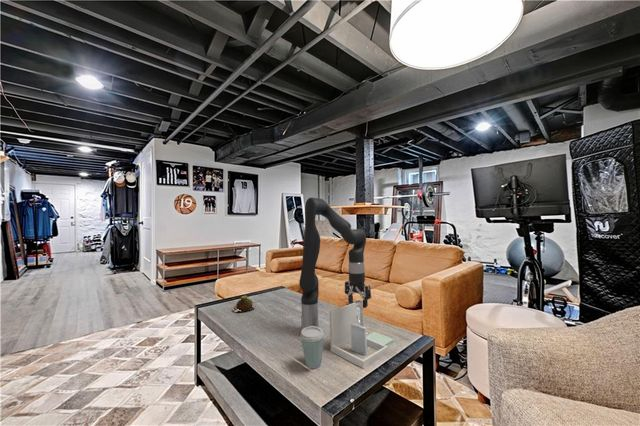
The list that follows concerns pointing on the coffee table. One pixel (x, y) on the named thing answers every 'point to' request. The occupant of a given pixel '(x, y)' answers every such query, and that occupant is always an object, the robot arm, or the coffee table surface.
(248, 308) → the cactus
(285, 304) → the coffee table surface
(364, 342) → the hard drive
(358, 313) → the disk drive
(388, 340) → the mat
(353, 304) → the case
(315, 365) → the disposable coffee cup
